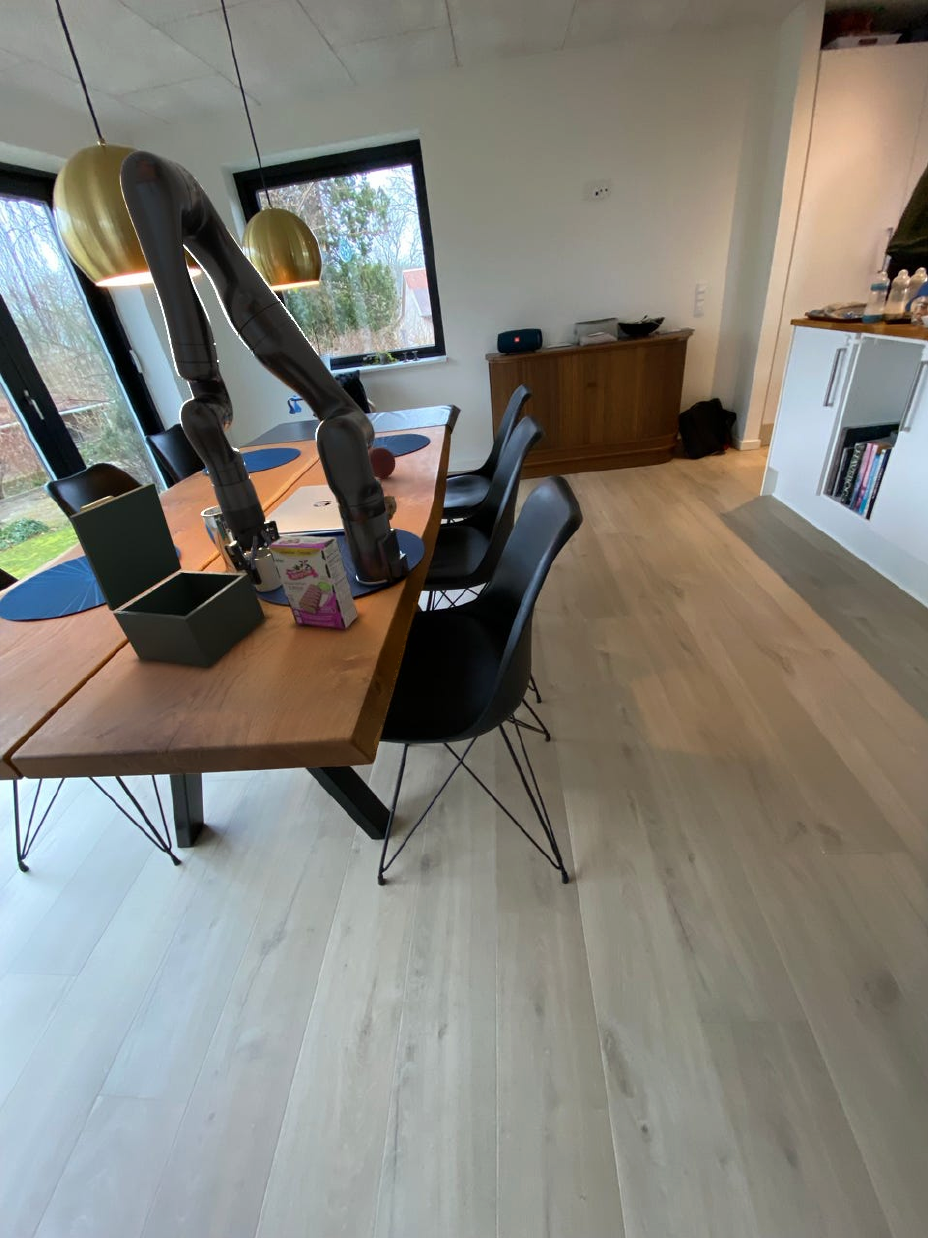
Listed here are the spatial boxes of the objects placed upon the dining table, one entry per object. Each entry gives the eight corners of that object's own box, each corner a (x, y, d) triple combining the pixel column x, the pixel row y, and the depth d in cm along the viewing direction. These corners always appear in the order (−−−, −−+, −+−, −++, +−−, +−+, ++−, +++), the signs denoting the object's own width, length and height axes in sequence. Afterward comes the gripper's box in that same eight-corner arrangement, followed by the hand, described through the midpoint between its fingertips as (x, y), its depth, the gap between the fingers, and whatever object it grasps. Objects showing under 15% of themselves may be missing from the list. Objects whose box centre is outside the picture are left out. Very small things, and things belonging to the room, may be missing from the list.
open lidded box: (266, 618, 100) (248, 573, 94) (209, 668, 87) (185, 619, 82) (201, 613, 105) (181, 570, 100) (139, 659, 93) (112, 613, 87)
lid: (154, 482, 89) (129, 478, 91) (72, 517, 77) (44, 511, 78) (181, 568, 99) (158, 563, 101) (113, 611, 87) (87, 604, 88)
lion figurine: (398, 524, 134) (392, 490, 129) (403, 530, 129) (396, 496, 125) (343, 538, 130) (334, 504, 126) (346, 545, 126) (337, 510, 121)
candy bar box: (295, 626, 96) (265, 546, 87) (309, 612, 99) (283, 534, 91) (346, 631, 92) (321, 547, 83) (359, 616, 96) (337, 535, 87)
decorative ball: (364, 483, 170) (357, 452, 164) (374, 473, 178) (367, 444, 173) (393, 480, 168) (387, 450, 162) (401, 471, 176) (395, 441, 171)
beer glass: (260, 562, 124) (238, 503, 116) (247, 576, 118) (223, 514, 110) (234, 564, 125) (210, 505, 117) (220, 578, 119) (193, 517, 111)
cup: (289, 578, 114) (278, 548, 110) (273, 592, 109) (261, 560, 105) (267, 577, 116) (256, 547, 112) (250, 591, 111) (238, 559, 107)
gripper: (230, 516, 95) (260, 594, 104) (276, 490, 107) (300, 562, 116) (199, 516, 98) (231, 592, 107) (247, 490, 109) (272, 561, 118)
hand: (266, 576), depth 111 cm, fingers closed on cup, 6 cm apart
